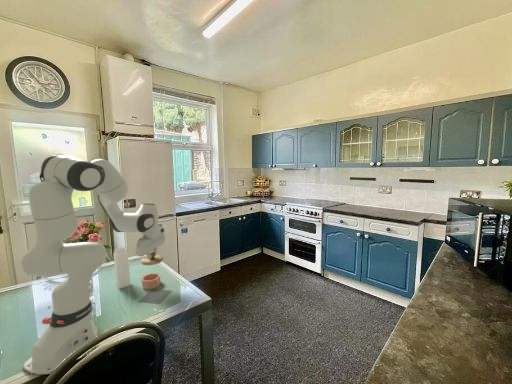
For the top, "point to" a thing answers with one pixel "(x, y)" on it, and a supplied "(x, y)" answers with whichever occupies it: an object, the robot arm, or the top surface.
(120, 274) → the milk
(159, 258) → the lid
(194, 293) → the top surface
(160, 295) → the mat
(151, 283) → the bowl
